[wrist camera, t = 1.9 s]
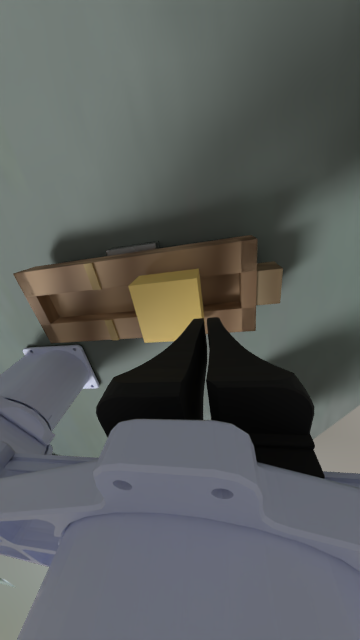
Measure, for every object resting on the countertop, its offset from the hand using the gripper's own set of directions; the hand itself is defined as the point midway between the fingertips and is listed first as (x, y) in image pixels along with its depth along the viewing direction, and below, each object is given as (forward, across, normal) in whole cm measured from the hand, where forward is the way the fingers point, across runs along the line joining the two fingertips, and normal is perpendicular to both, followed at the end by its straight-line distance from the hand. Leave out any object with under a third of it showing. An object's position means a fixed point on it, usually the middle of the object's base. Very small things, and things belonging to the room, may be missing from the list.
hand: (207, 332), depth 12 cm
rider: (+8, +3, 0) cm, 8 cm away
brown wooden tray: (+9, +6, 0) cm, 11 cm away
